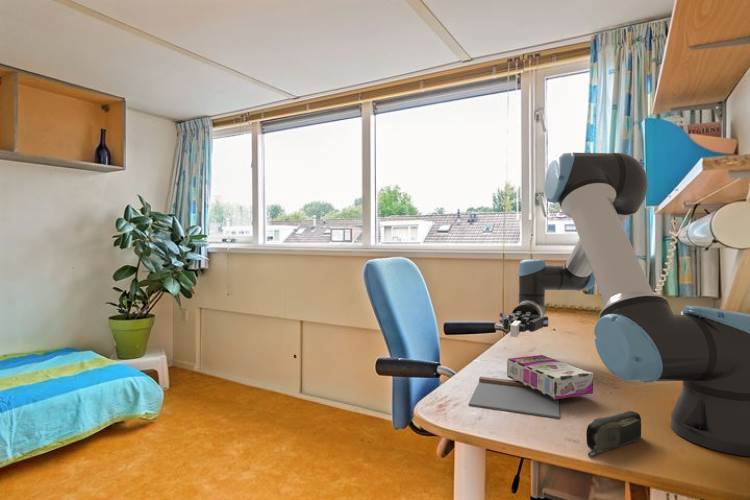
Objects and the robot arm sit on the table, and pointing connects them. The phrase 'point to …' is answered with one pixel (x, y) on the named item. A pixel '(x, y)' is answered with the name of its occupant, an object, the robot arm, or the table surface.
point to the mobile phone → (613, 432)
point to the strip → (502, 382)
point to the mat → (514, 400)
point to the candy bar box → (550, 376)
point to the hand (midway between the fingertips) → (513, 331)
